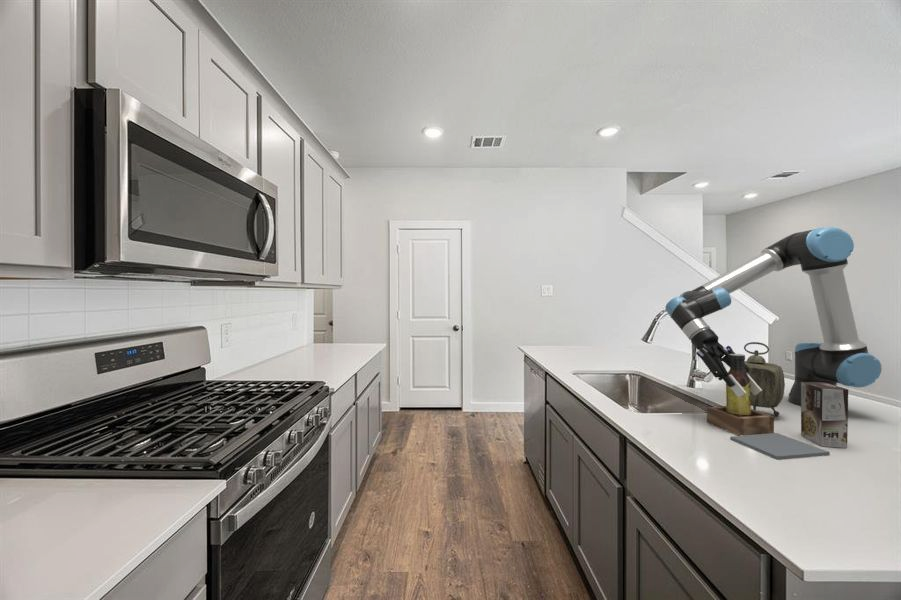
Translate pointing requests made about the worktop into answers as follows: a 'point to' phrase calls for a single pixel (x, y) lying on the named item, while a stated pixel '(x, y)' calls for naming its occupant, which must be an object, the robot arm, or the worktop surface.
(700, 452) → the worktop surface
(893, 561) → the worktop surface
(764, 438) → the rubber mat
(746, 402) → the sauce bottle
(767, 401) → the tabletop clock
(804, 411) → the coffee box
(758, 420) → the bottle holder
